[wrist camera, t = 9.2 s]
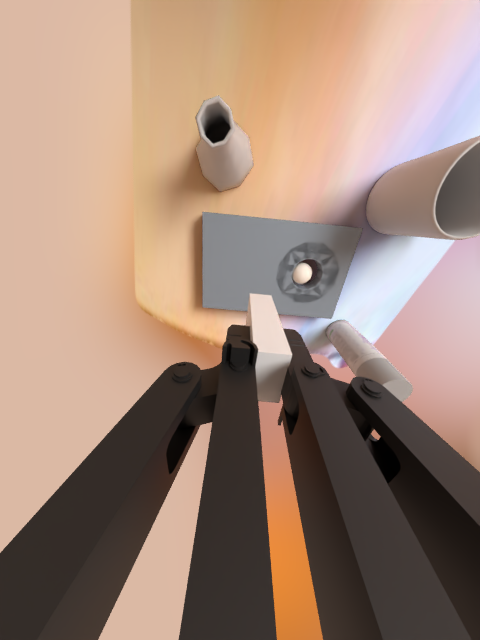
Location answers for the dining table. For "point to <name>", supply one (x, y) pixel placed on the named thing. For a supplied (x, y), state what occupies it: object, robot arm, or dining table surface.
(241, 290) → the plate
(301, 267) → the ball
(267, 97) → the dining table surface
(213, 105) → the flask
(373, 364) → the container
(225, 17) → the dining table surface
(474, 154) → the mug
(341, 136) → the dining table surface
